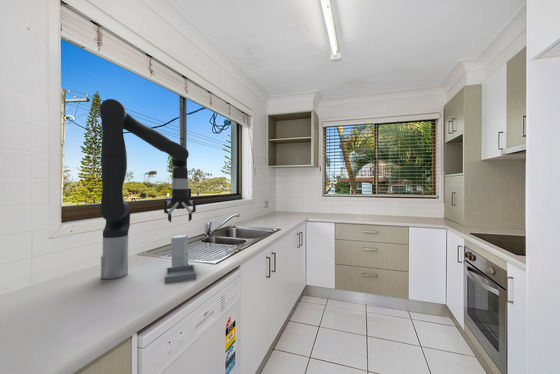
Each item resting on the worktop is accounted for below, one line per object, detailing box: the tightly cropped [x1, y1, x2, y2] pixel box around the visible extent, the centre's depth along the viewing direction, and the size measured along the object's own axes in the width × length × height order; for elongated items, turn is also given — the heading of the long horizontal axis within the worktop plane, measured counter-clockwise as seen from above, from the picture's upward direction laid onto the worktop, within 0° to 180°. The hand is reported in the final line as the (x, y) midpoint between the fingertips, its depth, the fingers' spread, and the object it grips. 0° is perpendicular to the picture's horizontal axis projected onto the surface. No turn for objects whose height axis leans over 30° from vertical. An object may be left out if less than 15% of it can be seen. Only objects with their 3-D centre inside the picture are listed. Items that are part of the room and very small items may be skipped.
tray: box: [164, 264, 197, 284], centre depth 106 cm, size 12×12×2 cm
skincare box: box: [171, 234, 189, 267], centre depth 119 cm, size 8×6×15 cm
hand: (180, 221), depth 118 cm, fingers open, 8 cm apart
